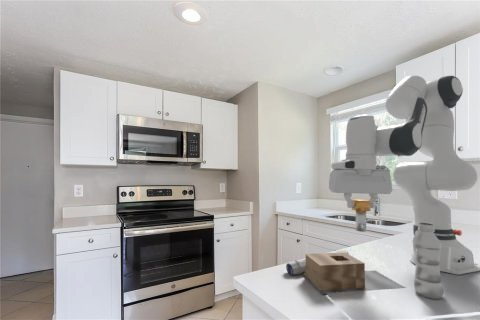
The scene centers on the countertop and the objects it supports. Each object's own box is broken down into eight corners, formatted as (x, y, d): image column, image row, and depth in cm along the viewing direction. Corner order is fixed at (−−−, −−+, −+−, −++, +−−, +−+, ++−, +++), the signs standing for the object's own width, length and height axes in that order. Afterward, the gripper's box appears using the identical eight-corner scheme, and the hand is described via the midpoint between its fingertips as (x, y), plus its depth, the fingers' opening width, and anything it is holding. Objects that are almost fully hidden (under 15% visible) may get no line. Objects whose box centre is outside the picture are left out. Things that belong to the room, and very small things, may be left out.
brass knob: (363, 228, 81) (363, 199, 82) (374, 232, 76) (374, 201, 77) (348, 228, 81) (348, 199, 81) (358, 232, 75) (358, 201, 76)
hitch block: (375, 272, 86) (374, 249, 86) (405, 289, 73) (404, 263, 73) (303, 276, 82) (303, 252, 82) (322, 295, 69) (322, 267, 69)
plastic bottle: (434, 305, 64) (432, 227, 65) (408, 293, 71) (406, 222, 72) (449, 300, 67) (446, 225, 68) (422, 289, 73) (420, 221, 74)
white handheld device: (284, 260, 86) (344, 245, 93) (286, 279, 85) (346, 263, 93) (291, 266, 81) (354, 249, 88) (294, 286, 80) (356, 268, 88)
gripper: (382, 166, 84) (382, 207, 84) (326, 163, 81) (326, 206, 80) (397, 165, 78) (397, 209, 77) (337, 162, 75) (336, 208, 74)
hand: (360, 207), depth 79 cm, fingers closed on brass knob, 5 cm apart
